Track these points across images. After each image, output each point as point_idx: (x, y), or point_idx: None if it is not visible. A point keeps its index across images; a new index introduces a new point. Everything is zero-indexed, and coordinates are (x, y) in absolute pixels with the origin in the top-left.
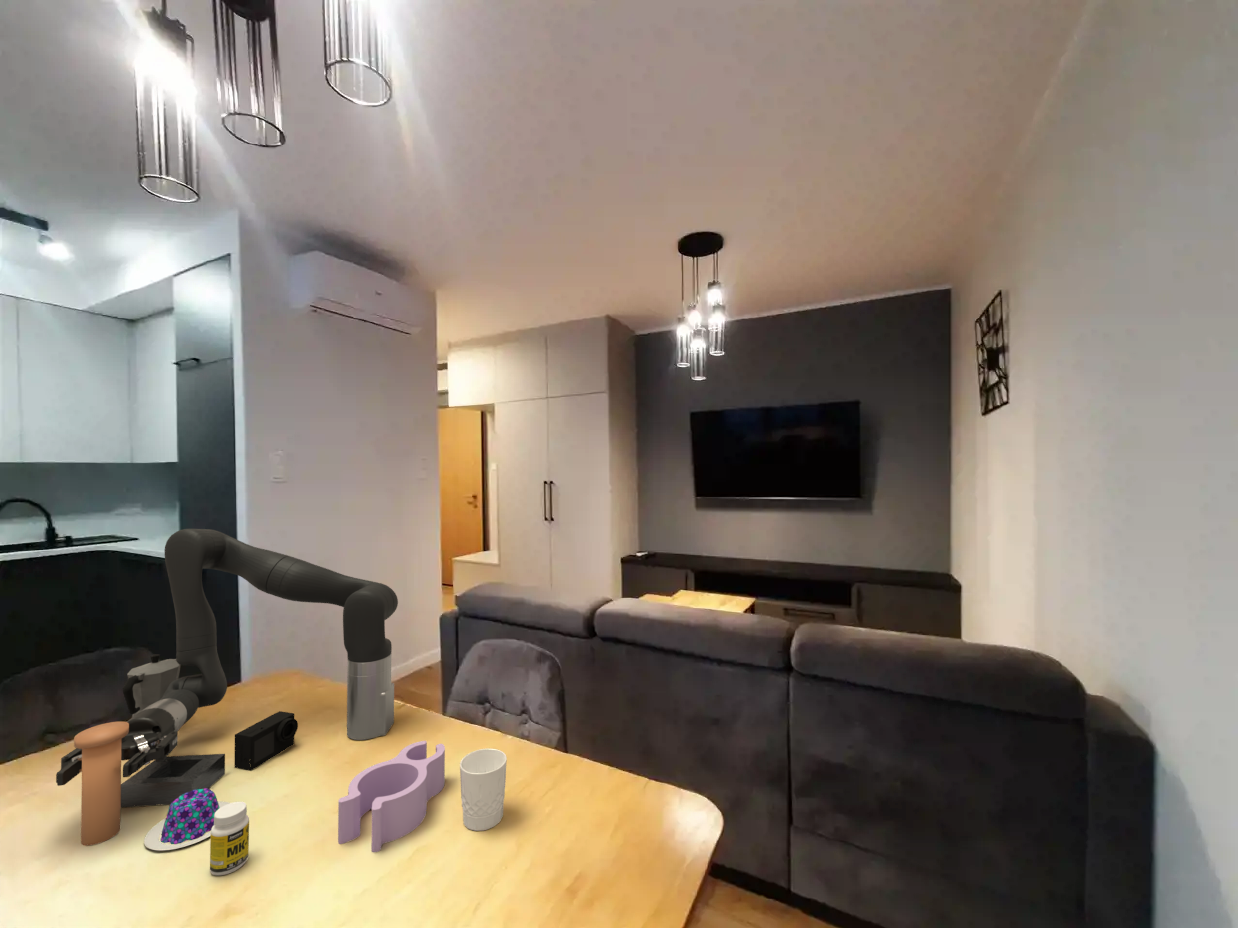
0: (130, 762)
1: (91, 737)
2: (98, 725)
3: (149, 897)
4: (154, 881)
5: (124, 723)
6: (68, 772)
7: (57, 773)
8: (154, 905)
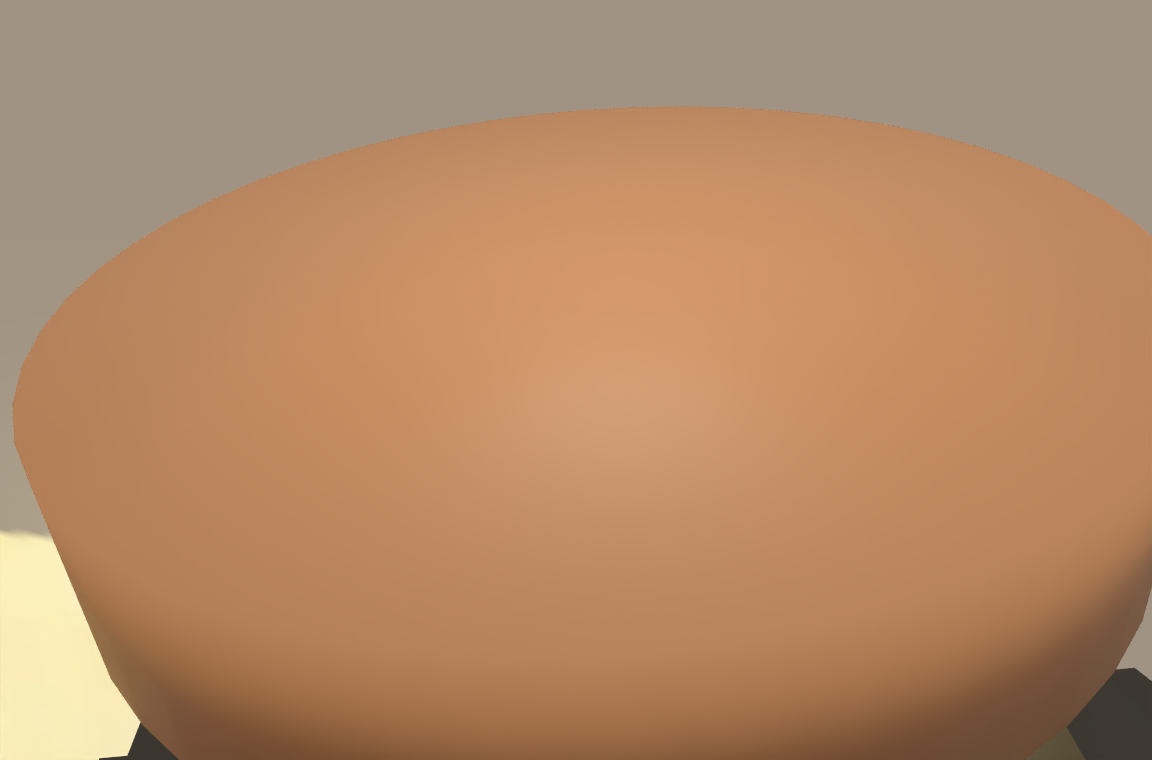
0: (137, 730)
1: (609, 151)
2: (1109, 484)
3: (62, 623)
4: (53, 708)
5: (181, 512)
6: (1041, 756)
7: (1135, 681)
8: (35, 584)
